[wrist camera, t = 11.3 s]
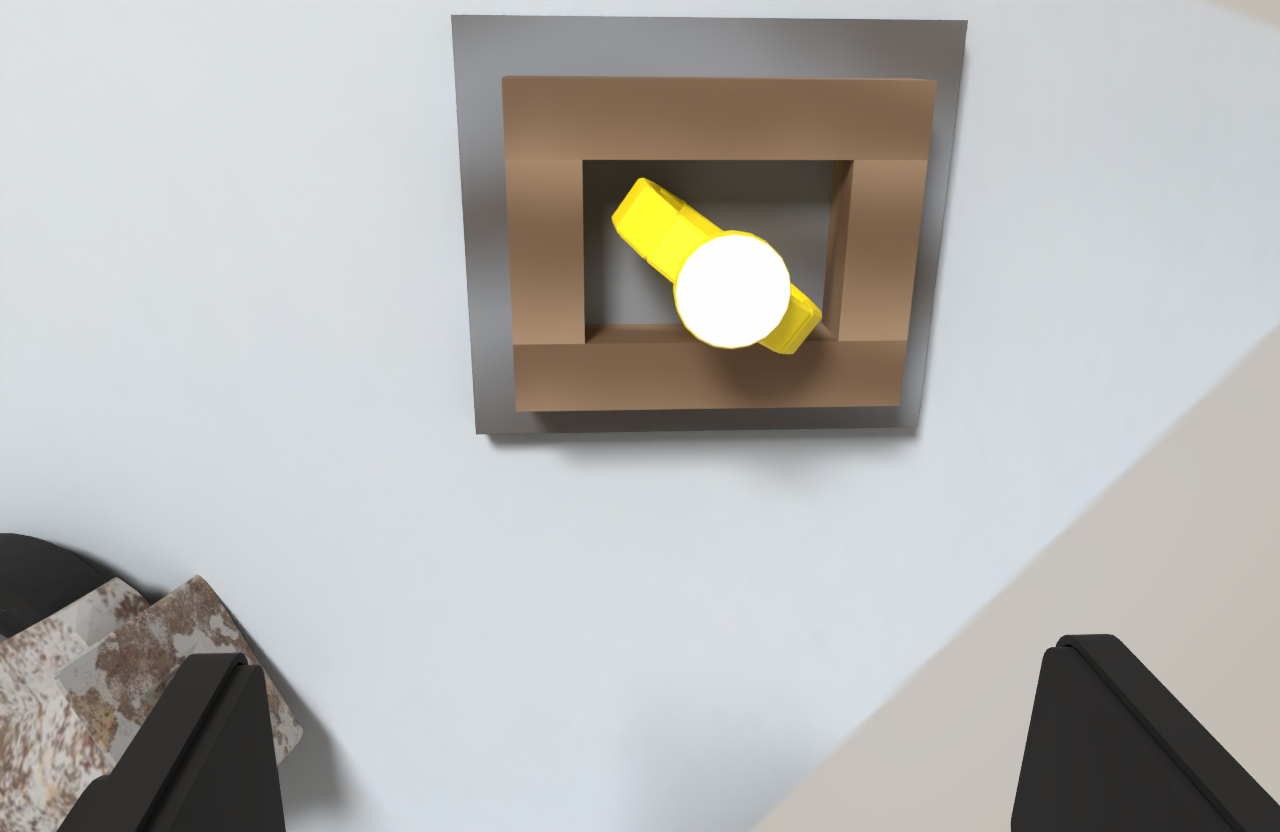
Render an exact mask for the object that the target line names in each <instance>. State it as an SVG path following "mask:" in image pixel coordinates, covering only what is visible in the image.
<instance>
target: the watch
mask: <svg viewBox="0 0 1280 832" xmlns="http://www.w3.org/2000/svg"><path fill="white" fill-rule="evenodd" d="M612 222H613V225H614V227H615V229H616V231H617V233H619V235H620V236H621V237H622V238H623V239H624V240H625V241H626V242H627V243H628V244H629V245H630V246H631V247H632V248H633V249H634V250H635V251H636V252H637V253H638V254H639V255H640V256H641V257H642V258H643V259H645V260H647V262H648V263H649V264H650V265H651V266H653V267H654V268H655V269H656V270H657V271H659V272H660V273H661V274H662V275H664V276H665V277H666V278H667V279H668V280H670V281H671V282H672V283H673V284H674V285H673V294H674V300H675V306H676V309H677V312H678V314H679V316H680V318H681V320H682V322H683V324H684V326H685V327H686V328H687V329H688V330H689V331H690V332H691V333H692V334H693V335H694V336H695V337H696V338H697V339H698V340H700V341H702V342H704V343H707V344H709V345H711V346H713V347H718V348H725V349H737V348H743V347H748V346H751V345H753V344H755V343H757V342H758V343H760V344H761V345H763V346H765V347H767V348H769V349H771V350H772V351H774V352H777V353H780V354H794V352H795V351H796V350H797V349H798V347H799V346H800V345H801V344H802V342H803V341H804V340H805V339H806V337H807V336H808V335H809V334H810V332H811V331H812V330H813V329H814V327H815V326H816V325H817V324H818V322H819V321H820V320H821V319H822V312H821V311H820V310H819V308H818V307H817V306H816V305H815V304H814V303H813V302H812V301H811V300H810V299H809V298H808V297H807V296H806V295H805V294H803V293H802V292H801V291H800V290H799V289H798V288H797V287H795V286H794V285H793V284H792V283H791V282H790V274H789V272H788V269H787V267H786V265H785V263H784V261H783V259H782V257H781V256H780V255H779V254H778V253H777V252H776V251H775V250H774V249H773V248H772V247H771V246H770V245H769V243H768V242H766V241H765V240H763V239H761V238H759V237H757V236H755V235H753V234H751V233H748V232H742V231H735V230H730V231H723V230H722V229H720V228H719V227H718V226H716V225H715V224H713V223H712V222H711V221H709V220H708V219H707V218H705V217H704V216H703V215H701V214H700V213H698V212H697V211H696V210H694V209H693V208H692V207H690V206H689V205H688V204H687V203H686V202H685V201H683V200H681V199H680V198H678V197H676V196H675V195H673V194H672V193H670V192H669V191H667V190H666V189H664V188H662V187H661V186H659V185H658V184H656V183H654V182H652V181H650V180H647V179H645V178H640V179H638V180H637V181H636V183H635V184H634V186H633V187H632V189H631V190H630V191H629V193H628V194H627V196H626V197H625V199H624V200H623V201H622V203H621V204H620V206H619V207H618V209H617V210H616V211H615V213H614V214H613V216H612Z"/></svg>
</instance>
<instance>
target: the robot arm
mask: <svg viewBox="0 0 1280 832" xmlns="http://www.w3.org/2000/svg"><path fill="white" fill-rule="evenodd" d="M56 832H286V829H285V822H284V814H283V807H282V799H281V792H280V785H279V777H278V770H277V763H276V755H275V748H274V740H273V733H272V726H271V718H270V711H269V704H268V696H267V689H266V681H265V675H264V671H263V669H262V667H261V666H260V665H249V664H248V660H247V658H246V656H245V655H244V654H243V653H195V654H191V655H189V656H188V657H187V658H186V659H185V660H184V662H183V663H182V665H181V666H180V668H179V669H178V671H177V672H176V674H175V675H174V677H173V679H172V680H171V682H170V683H169V685H168V686H167V688H166V689H165V691H164V692H163V694H162V695H161V697H160V698H159V700H158V702H157V703H156V705H155V706H154V708H153V709H152V711H151V712H150V714H149V715H148V717H147V718H146V720H145V721H144V723H143V725H142V726H141V728H140V729H139V731H138V732H137V734H136V735H135V737H134V738H133V740H132V741H131V743H130V744H129V746H128V747H127V749H126V751H125V752H124V754H123V755H122V757H121V758H120V760H119V761H118V763H117V764H116V766H115V767H114V769H113V770H112V772H111V774H110V775H102V776H100V777H98V778H96V779H94V780H93V781H92V782H91V783H90V784H89V785H88V786H87V787H86V789H85V790H84V791H83V792H82V794H81V795H80V797H79V798H78V800H77V801H76V803H75V804H74V806H73V807H72V809H71V810H70V812H69V813H68V815H67V816H66V818H65V819H64V821H63V822H62V824H61V825H60V827H59V828H58V830H57V831H56ZM1011 832H1280V806H1279V805H1278V804H1277V802H1276V801H1275V800H1274V799H1273V798H1272V797H1271V796H1270V795H1269V794H1268V793H1267V792H1266V791H1265V790H1264V789H1263V788H1262V787H1261V786H1260V785H1259V784H1258V783H1257V782H1256V781H1255V780H1254V779H1253V778H1252V776H1250V774H1249V773H1248V772H1247V771H1246V770H1245V769H1244V768H1243V767H1242V766H1241V765H1240V764H1239V763H1238V762H1237V761H1236V760H1235V759H1234V758H1233V757H1232V756H1231V755H1230V754H1229V753H1228V752H1227V751H1226V750H1225V749H1224V748H1223V746H1222V745H1221V744H1220V743H1219V742H1218V741H1217V740H1216V739H1215V738H1214V737H1213V736H1212V735H1211V734H1210V733H1209V732H1208V731H1207V730H1206V729H1205V728H1204V727H1203V726H1202V725H1201V724H1200V723H1199V722H1198V720H1197V719H1196V718H1195V717H1193V715H1192V714H1191V713H1190V712H1189V711H1188V710H1187V709H1186V708H1185V707H1184V706H1183V705H1182V704H1181V703H1180V702H1179V701H1178V700H1177V699H1176V698H1175V697H1174V696H1173V695H1172V694H1171V692H1170V691H1169V690H1168V689H1167V688H1166V687H1165V686H1164V685H1163V684H1162V683H1161V682H1160V681H1159V680H1158V679H1157V678H1156V677H1155V676H1154V675H1153V674H1152V673H1151V672H1150V671H1149V670H1148V669H1147V668H1146V667H1145V666H1144V664H1143V663H1141V661H1140V660H1139V659H1138V658H1137V657H1136V656H1135V655H1134V654H1133V653H1132V652H1131V651H1130V650H1129V649H1128V648H1127V647H1126V646H1125V645H1124V644H1123V643H1122V642H1121V641H1120V640H1119V639H1118V638H1117V637H1115V636H1114V635H1109V634H1094V635H1093V634H1091V635H1090V634H1089V635H1065V636H1063V637H1061V638H1060V639H1059V641H1058V642H1057V644H1056V647H1051V648H1049V649H1047V650H1046V652H1045V653H1044V656H1043V660H1042V665H1041V670H1040V675H1039V681H1038V685H1037V690H1036V695H1035V701H1034V705H1033V711H1032V716H1031V721H1030V726H1029V731H1028V736H1027V741H1026V746H1025V751H1024V756H1023V761H1022V766H1021V772H1020V777H1019V782H1018V787H1017V792H1016V797H1015V803H1014V807H1013V812H1012V817H1011Z"/></svg>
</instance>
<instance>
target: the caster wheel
mask: <svg viewBox="0 0 1280 832" xmlns="http://www.w3.org/2000/svg"><path fill="white" fill-rule="evenodd" d="M195 653H243V654H244V655H245V656H246V658H247V660H248V664H249V665H260V666H261V667H262V665H261V664H260V662H259V661H258V659H257V657H256V656H255V654H254V653H253V651H252V650H251V648H250V647H249V645H248V644H247V642H246V640H245V639H244V637H243V636H242V634H241V633H240V631H239V630H238V628H237V627H236V625H235V623H234V622H233V620H232V619H231V617H230V616H229V614H228V613H227V611H226V609H225V608H224V606H223V605H222V603H221V602H220V600H219V599H218V597H217V596H216V594H215V593H214V591H213V590H212V588H211V587H210V586H209V584H208V583H207V582H206V581H205V580H204V579H203V578H202V577H201V576H200V575H196V576H195V577H193V578H192V579H190V580H189V581H187V582H186V583H184V584H183V585H181V586H180V587H178V588H177V589H175V590H174V591H173V592H171V593H170V594H168V595H167V596H165V597H164V598H162V599H161V600H159V601H158V602H156V603H155V604H153V605H152V606H150V605H149V604H148V602H147V601H146V600H145V599H144V598H143V597H142V596H141V595H140V594H139V592H138V591H136V590H135V589H133V588H132V587H131V586H129V585H128V584H126V583H125V582H123V581H122V580H121V579H119V578H118V577H115V578H113V579H111V580H109V581H107V582H106V581H105V580H104V579H103V578H102V577H101V576H100V575H99V574H98V573H97V572H95V571H94V570H93V569H92V568H91V567H90V566H89V565H87V564H86V563H85V562H83V561H82V560H80V559H79V558H77V557H76V556H74V555H73V554H71V553H70V552H68V551H67V550H64V549H62V548H60V547H58V546H56V545H54V544H52V543H49V542H47V541H44V540H41V539H37V538H34V537H31V536H25V535H20V534H13V533H0V832H56V831H57V830H58V828H59V827H60V825H61V824H62V822H63V821H64V819H65V818H66V816H67V815H68V813H69V812H70V810H71V809H72V807H73V806H74V804H75V803H76V801H77V800H78V798H79V797H80V795H81V794H82V792H83V791H84V790H85V789H86V787H87V786H88V785H89V784H90V783H91V782H92V781H93V780H94V779H96V778H98V777H100V776H102V775H110V774H111V772H112V770H113V769H114V767H115V766H116V764H117V763H118V761H119V760H120V758H121V757H122V755H123V754H124V752H125V751H126V749H127V747H128V746H129V744H130V743H131V741H132V740H133V738H134V737H135V735H136V734H137V732H138V731H139V729H140V728H141V726H142V725H143V723H144V721H145V720H146V718H147V717H148V715H149V714H150V712H151V711H152V709H153V708H154V706H155V705H156V703H157V702H158V700H159V698H160V697H161V695H162V694H163V692H164V691H165V689H166V688H167V686H168V685H169V683H170V682H171V680H172V679H173V677H174V675H175V674H176V672H177V671H178V669H179V668H180V666H181V665H182V663H183V662H184V660H185V659H186V658H187V657H188V656H189V655H191V654H195ZM262 669H263V671H264V675H265V681H266V689H267V696H268V704H269V711H270V718H271V726H272V733H273V740H274V748H275V755H276V763H277V767H278V766H279V765H280V763H281V762H282V761H283V760H284V759H285V758H286V757H287V756H288V754H289V753H290V752H291V751H292V750H293V749H294V748H295V747H296V745H297V744H298V743H299V742H300V741H301V739H302V736H303V732H304V730H303V729H302V727H301V726H300V724H299V722H298V721H297V719H296V718H295V716H294V715H293V713H292V712H291V710H290V709H289V707H288V705H287V704H286V702H285V701H284V699H283V698H282V696H281V695H280V693H279V692H278V690H277V688H276V687H275V685H274V684H273V682H272V681H271V679H270V678H269V676H268V675H267V673H266V671H265V670H264V668H263V667H262Z"/></svg>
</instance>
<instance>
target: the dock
mask: <svg viewBox="0 0 1280 832" xmlns="http://www.w3.org/2000/svg"><path fill="white" fill-rule="evenodd" d="M451 21H452V37H453V54H454V71H455V88H456V105H457V122H458V138H459V155H460V172H461V189H462V206H463V223H464V240H465V256H466V273H467V290H468V307H469V324H470V341H471V357H472V374H473V391H474V408H475V425H476V434H527V433H587V432H646V431H706V430H765V429H825V428H884V427H918V419H919V411H920V403H921V395H922V387H923V379H924V371H925V363H926V355H927V346H928V338H929V330H930V322H931V314H932V306H933V298H934V290H935V282H936V274H937V266H938V257H939V249H940V241H941V233H942V225H943V217H944V209H945V201H946V193H947V185H948V177H949V169H950V160H951V152H952V144H953V136H954V128H955V120H956V112H957V104H958V96H959V88H960V80H961V72H962V63H963V55H964V47H965V39H966V31H967V23H968V20H880V19H787V18H693V17H600V16H507V15H451ZM640 178H645V179H647V180H650V181H652V182H654V183H656V184H658V185H659V186H661V187H662V188H664V189H666V190H667V191H669V192H670V193H672V194H673V195H675V196H676V197H678V198H680V199H681V200H683V201H685V202H686V203H687V204H688V205H689V206H690V207H692V208H693V209H694V210H696V211H697V212H698V213H700V214H701V215H703V216H704V217H705V218H707V219H708V220H709V221H711V222H712V223H713V224H715V225H716V226H718V227H719V228H720V229H722V230H723V231H730V230H735V231H742V232H748V233H751V234H753V235H755V236H757V237H759V238H761V239H763V240H765V241H766V242H768V243H769V245H770V246H771V247H772V248H773V249H774V250H775V251H776V252H777V253H778V254H779V255H780V256H781V257H782V259H783V261H784V263H785V265H786V267H787V269H788V272H789V274H790V282H791V283H792V284H793V285H794V286H795V287H797V288H798V289H799V290H800V291H801V292H802V293H803V294H805V295H806V296H807V297H808V298H809V299H810V300H811V301H812V302H813V303H814V304H815V305H816V306H817V307H818V308H819V310H820V311H821V312H822V319H821V320H820V321H819V322H818V324H817V325H816V326H815V327H814V329H813V330H812V331H811V332H810V334H809V335H808V336H807V337H806V339H805V340H804V341H803V342H802V344H801V345H800V346H799V347H798V349H797V350H796V351H795V352H794V354H780V353H777V352H774V351H772V350H771V349H769V348H767V347H765V346H763V345H761V344H760V343H758V342H757V343H755V344H753V345H751V346H748V347H743V348H737V349H725V348H718V347H713V346H711V345H709V344H707V343H704V342H702V341H700V340H698V339H697V338H696V337H695V336H694V335H693V334H692V333H691V332H690V331H689V330H688V329H687V328H686V327H685V326H684V324H683V322H682V320H681V318H680V316H679V314H678V312H677V309H676V306H675V300H674V294H673V285H674V284H673V283H672V282H671V281H670V280H668V279H667V278H666V277H665V276H664V275H662V274H661V273H660V272H659V271H657V270H656V269H655V268H654V267H653V266H651V265H650V264H649V263H648V262H647V260H645V259H643V258H642V257H641V256H640V255H639V254H638V253H637V252H636V251H635V250H634V249H633V248H632V247H631V246H630V245H629V244H628V243H627V242H626V241H625V240H624V239H623V238H622V237H621V236H620V235H619V233H617V231H616V229H615V227H614V225H613V222H612V216H613V214H614V213H615V211H616V210H617V209H618V207H619V206H620V204H621V203H622V201H623V200H624V199H625V197H626V196H627V194H628V193H629V191H630V190H631V189H632V187H633V186H634V184H635V183H636V181H637V180H638V179H640Z"/></svg>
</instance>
